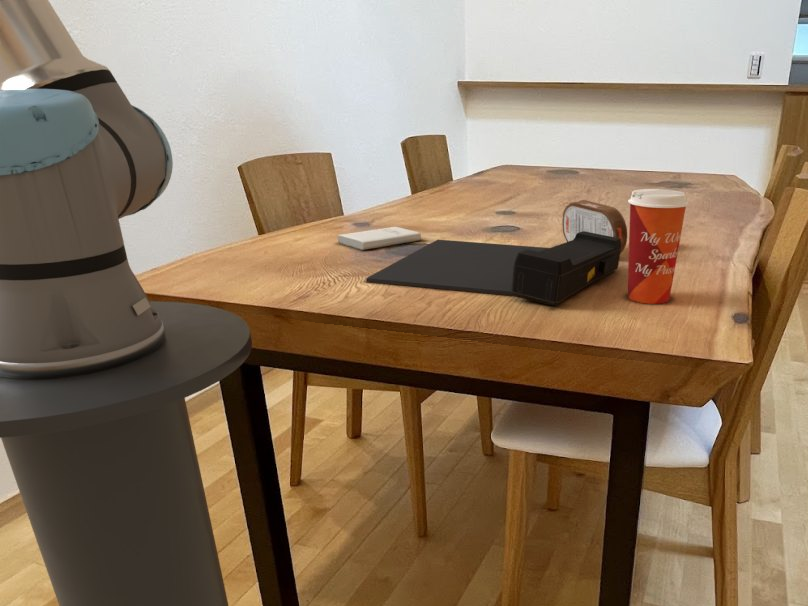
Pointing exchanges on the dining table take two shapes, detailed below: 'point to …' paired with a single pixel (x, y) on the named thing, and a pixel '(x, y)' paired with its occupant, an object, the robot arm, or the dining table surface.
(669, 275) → the paper cup
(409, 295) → the dining table surface
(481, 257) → the mat
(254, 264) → the dining table surface
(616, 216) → the tin
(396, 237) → the hard drive
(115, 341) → the robot arm
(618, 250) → the portable radio
